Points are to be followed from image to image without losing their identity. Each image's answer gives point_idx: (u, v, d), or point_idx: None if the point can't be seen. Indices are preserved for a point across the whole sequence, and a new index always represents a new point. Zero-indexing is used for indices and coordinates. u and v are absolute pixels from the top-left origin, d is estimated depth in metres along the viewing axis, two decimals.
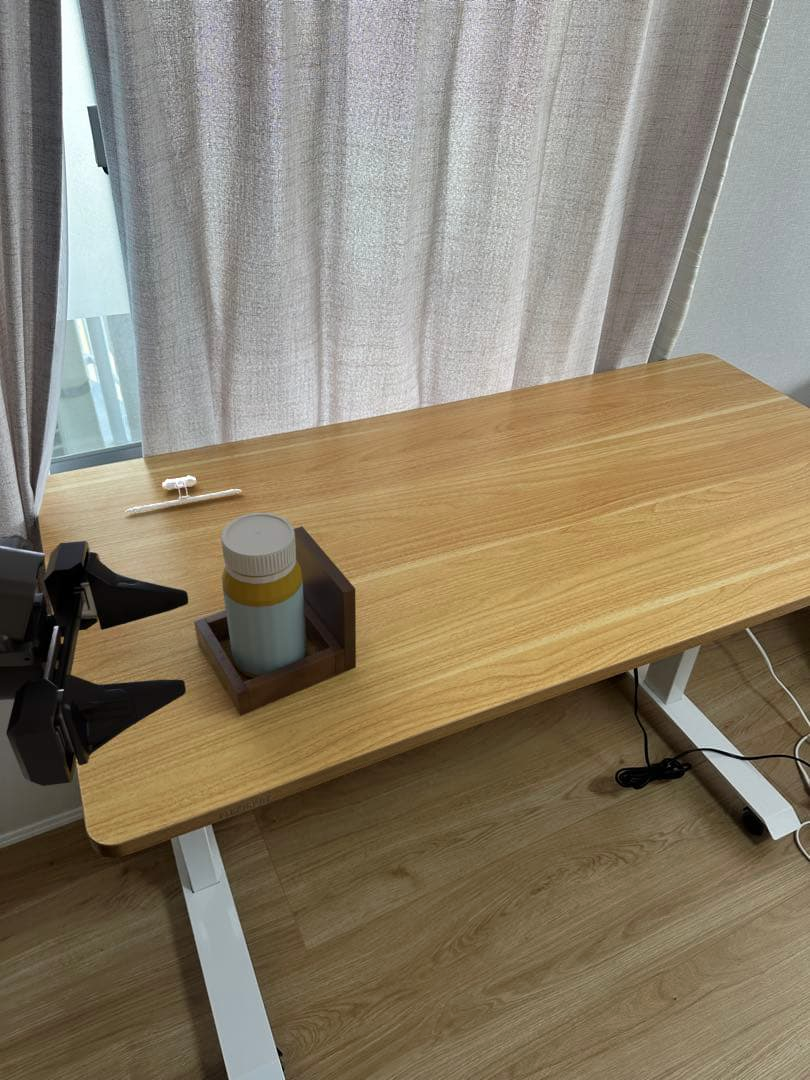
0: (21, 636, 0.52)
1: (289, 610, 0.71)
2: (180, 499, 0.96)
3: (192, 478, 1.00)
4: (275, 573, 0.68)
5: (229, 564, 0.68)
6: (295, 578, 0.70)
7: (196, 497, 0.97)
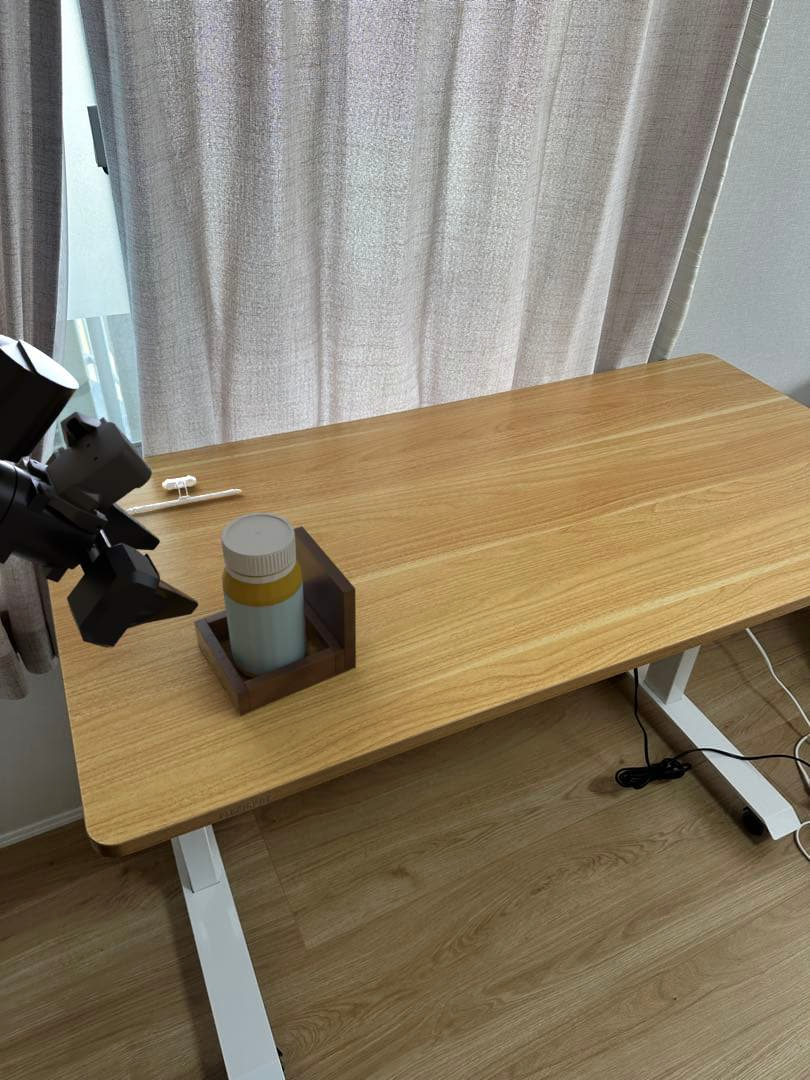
0: (109, 505, 0.57)
1: (289, 610, 0.71)
2: (180, 499, 0.96)
3: (192, 478, 1.00)
4: (275, 573, 0.68)
5: (229, 564, 0.68)
6: (295, 578, 0.70)
7: (196, 497, 0.97)
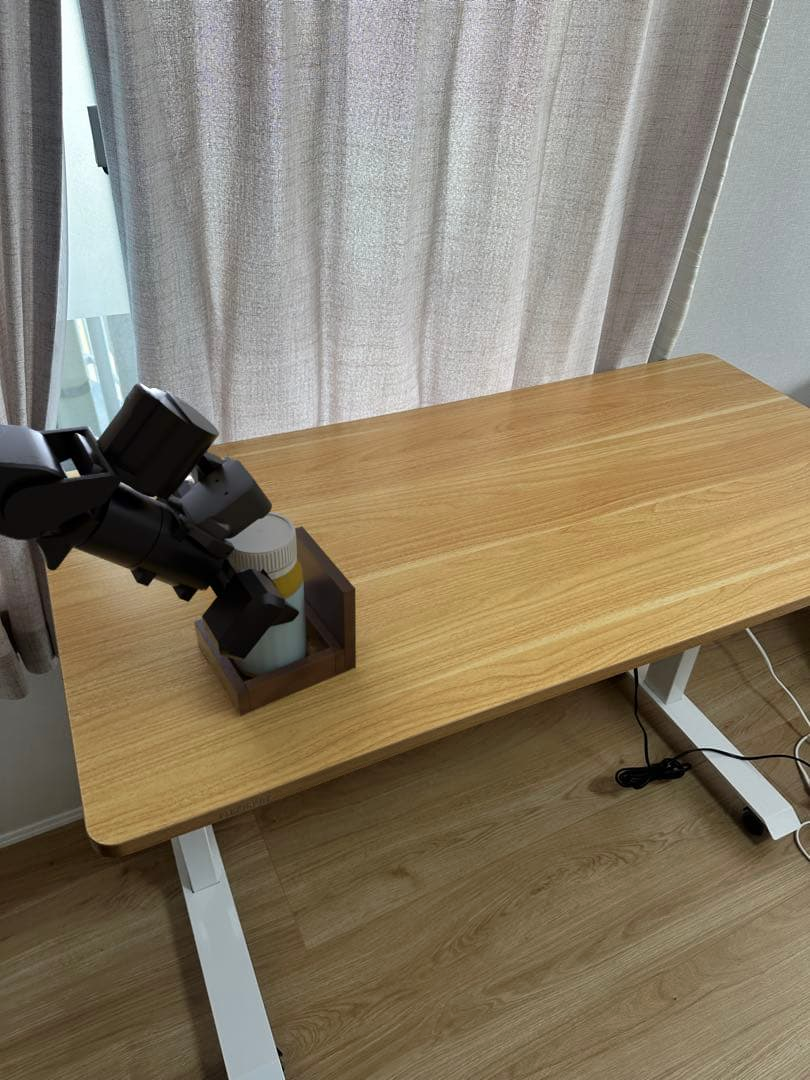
0: (236, 534, 0.64)
1: None
2: None
3: (192, 478, 1.00)
4: (276, 571, 0.68)
5: None
6: (296, 576, 0.70)
7: None
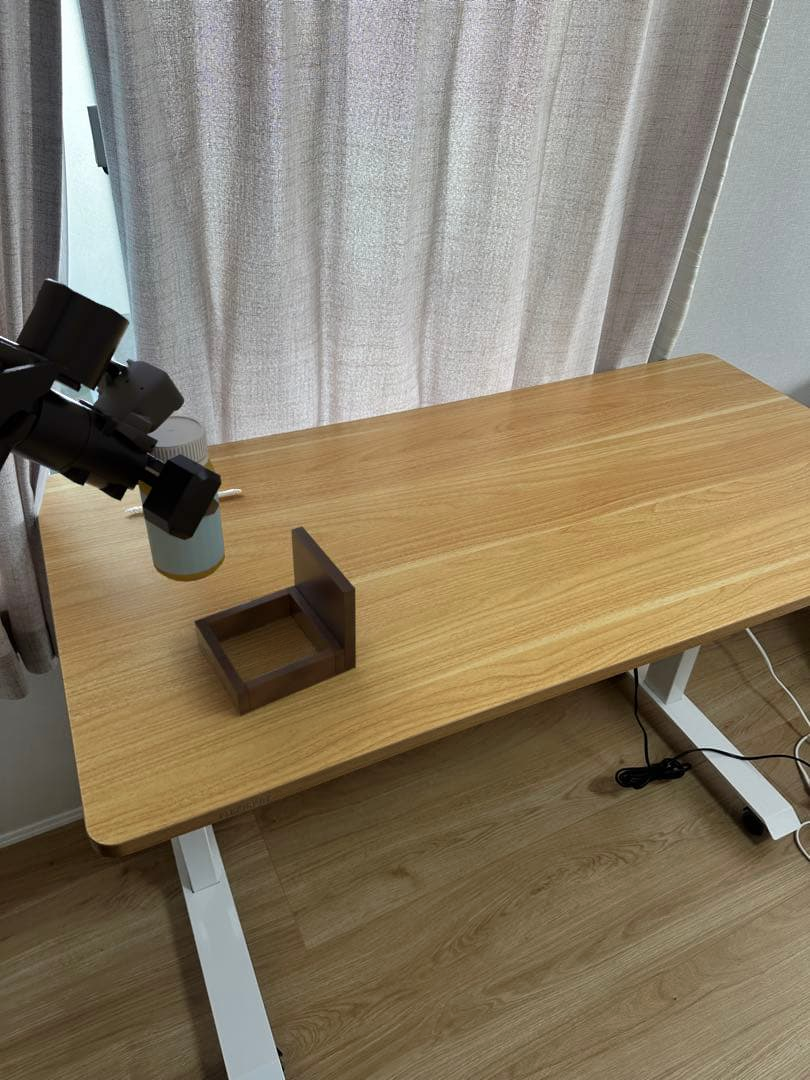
0: (157, 427, 0.68)
1: None
2: None
3: None
4: None
5: None
6: None
7: None
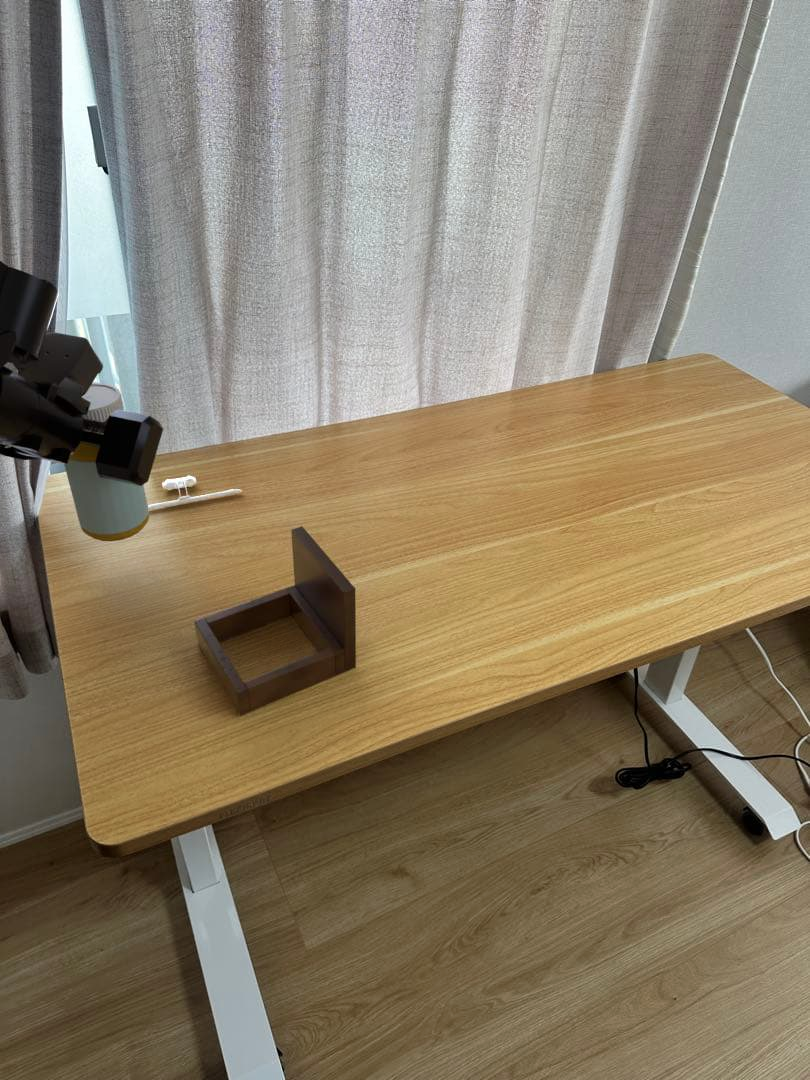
0: (87, 390, 0.73)
1: None
2: (180, 499, 0.96)
3: (192, 478, 1.00)
4: None
5: None
6: None
7: (196, 497, 0.97)
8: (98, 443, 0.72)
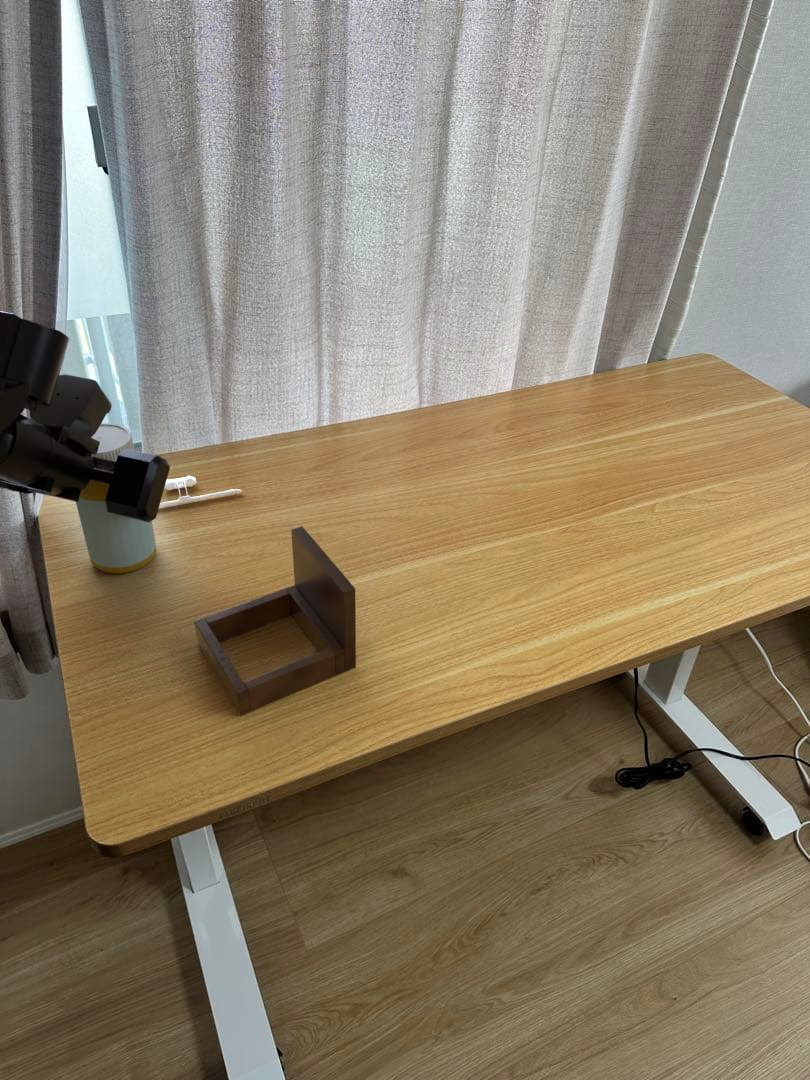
0: (96, 430, 0.76)
1: None
2: (180, 499, 0.96)
3: (192, 478, 1.00)
4: None
5: None
6: None
7: (196, 497, 0.97)
8: (108, 482, 0.75)
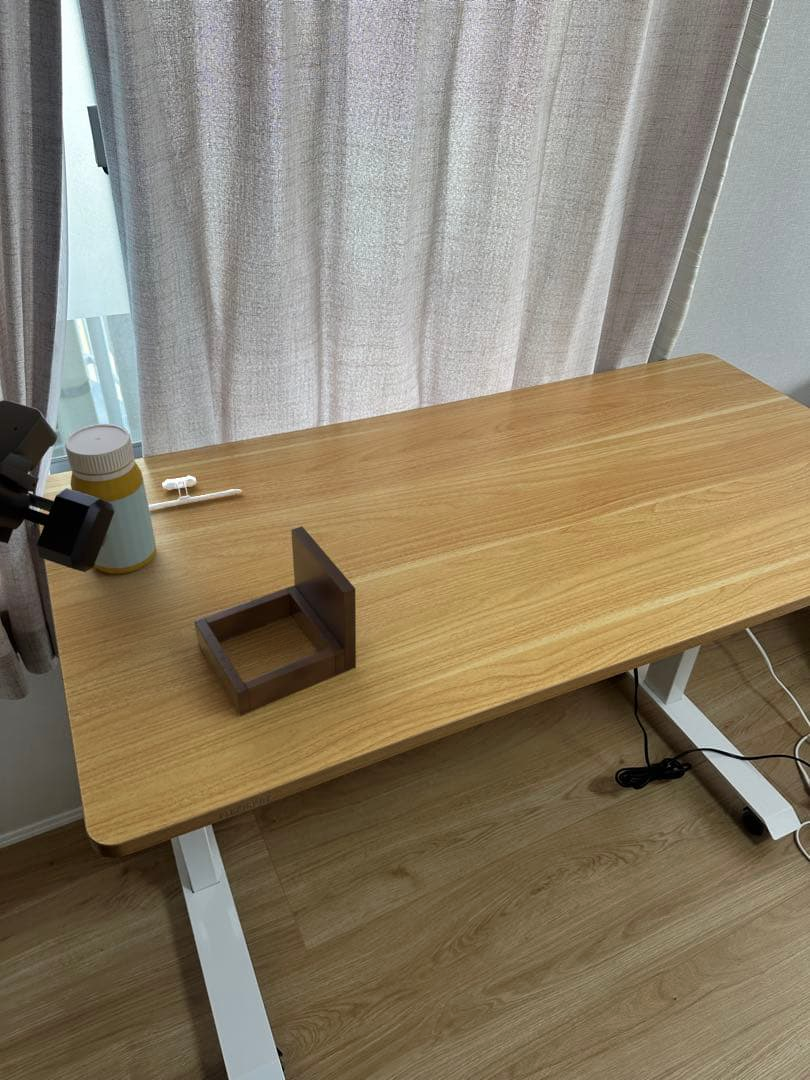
0: (35, 465, 0.68)
1: (143, 495, 0.84)
2: (180, 499, 0.96)
3: (192, 478, 1.00)
4: (128, 464, 0.81)
5: (87, 470, 0.78)
6: (138, 467, 0.83)
7: (196, 497, 0.97)
8: (42, 524, 0.67)
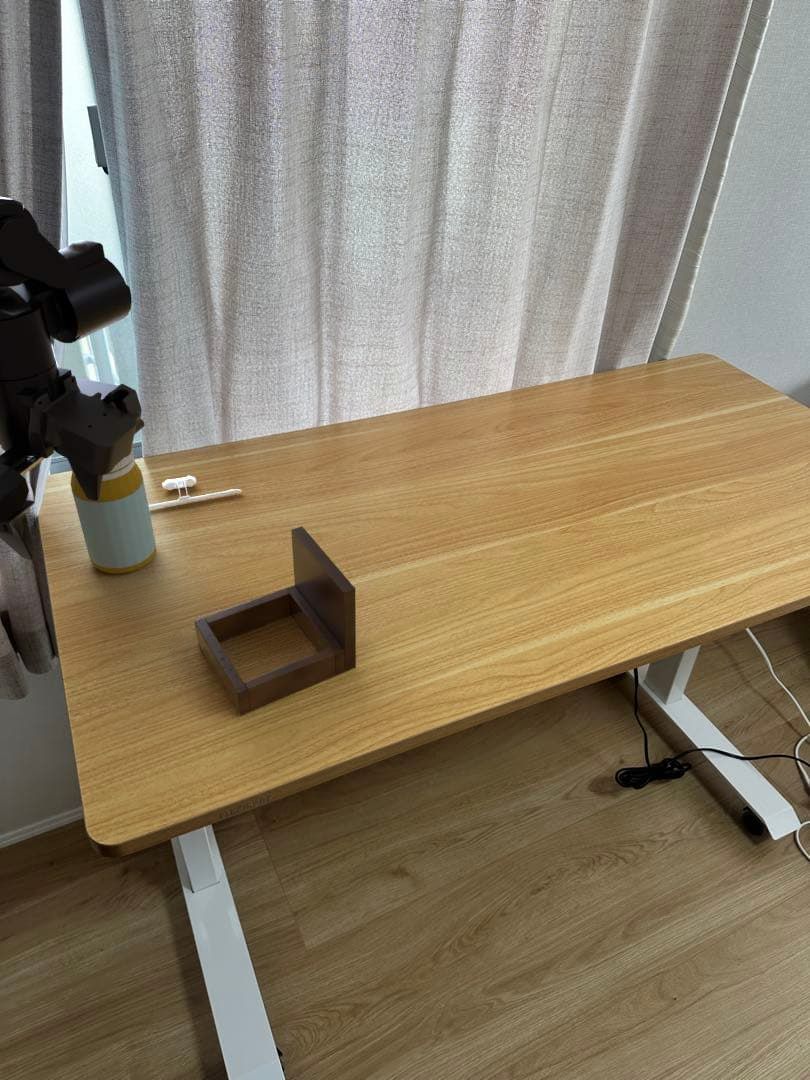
0: (59, 453, 0.63)
1: (143, 495, 0.84)
2: (180, 499, 0.96)
3: (192, 478, 1.00)
4: (128, 464, 0.81)
5: None
6: (138, 467, 0.83)
7: (196, 497, 0.97)
8: None
